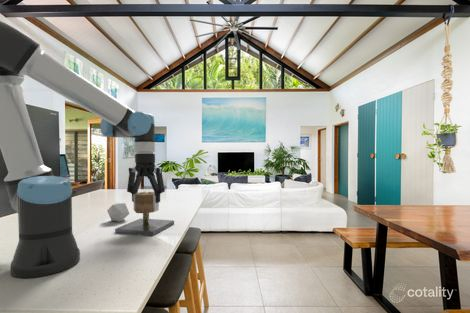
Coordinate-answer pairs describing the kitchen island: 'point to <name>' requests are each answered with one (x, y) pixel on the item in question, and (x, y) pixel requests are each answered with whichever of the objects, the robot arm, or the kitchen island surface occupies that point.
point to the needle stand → (145, 225)
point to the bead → (143, 202)
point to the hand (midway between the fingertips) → (146, 210)
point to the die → (118, 212)
